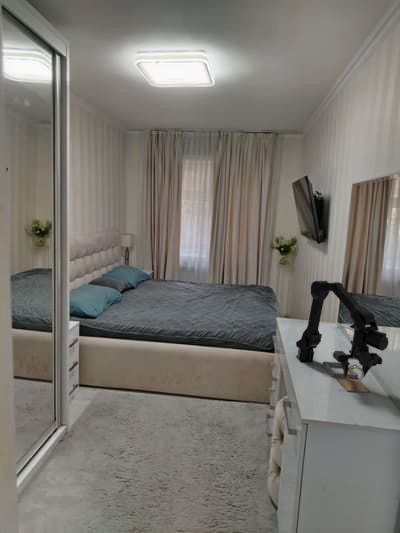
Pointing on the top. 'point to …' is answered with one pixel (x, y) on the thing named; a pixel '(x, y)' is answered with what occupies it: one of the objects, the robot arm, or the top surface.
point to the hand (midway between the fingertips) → (354, 376)
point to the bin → (338, 375)
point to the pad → (353, 386)
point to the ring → (353, 368)
